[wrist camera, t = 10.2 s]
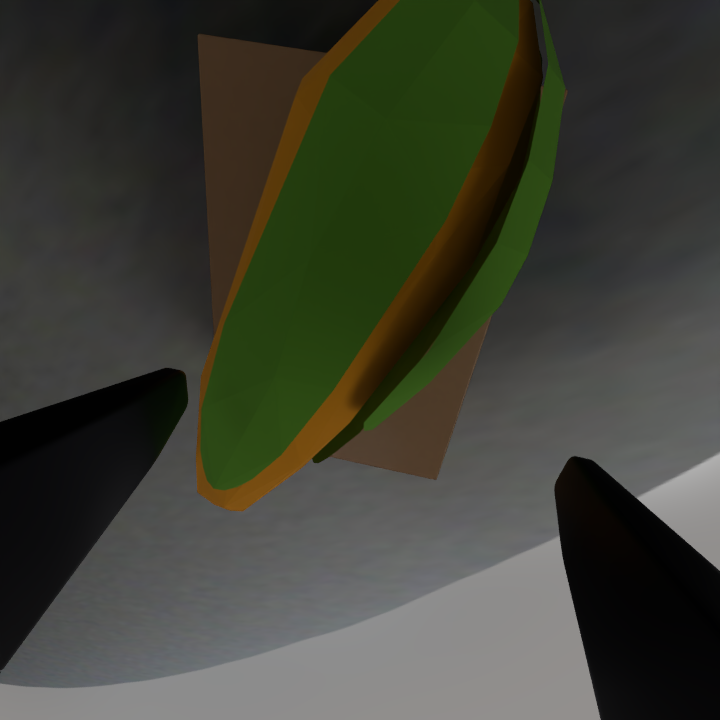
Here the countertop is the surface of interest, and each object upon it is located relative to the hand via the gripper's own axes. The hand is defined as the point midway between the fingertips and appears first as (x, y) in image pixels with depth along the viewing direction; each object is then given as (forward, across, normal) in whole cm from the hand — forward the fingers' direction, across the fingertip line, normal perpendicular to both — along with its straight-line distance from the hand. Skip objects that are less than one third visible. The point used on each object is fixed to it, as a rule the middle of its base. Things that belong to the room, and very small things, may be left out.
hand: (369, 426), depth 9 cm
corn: (+8, +2, +1) cm, 8 cm away
